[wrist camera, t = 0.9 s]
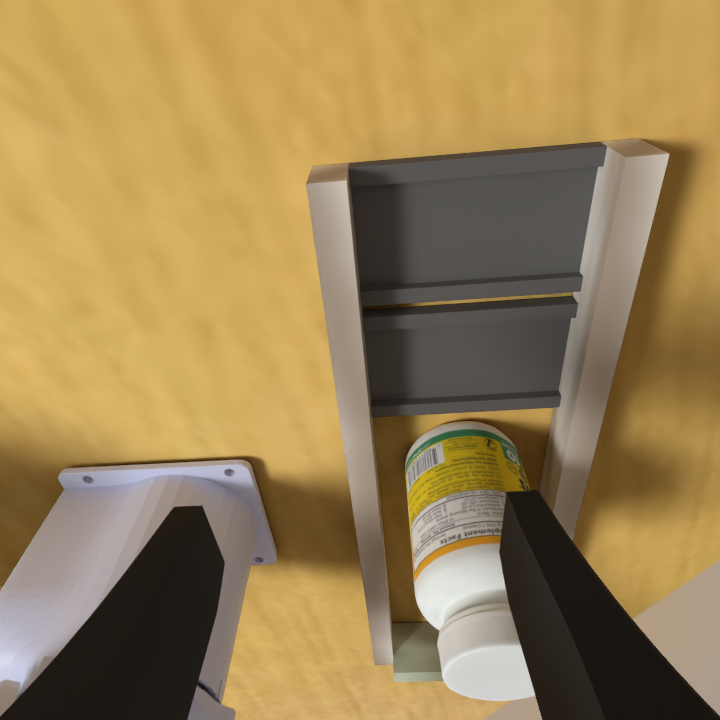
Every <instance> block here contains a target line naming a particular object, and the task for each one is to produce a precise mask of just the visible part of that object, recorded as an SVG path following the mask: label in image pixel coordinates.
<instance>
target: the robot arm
mask: <svg viewBox="0 0 720 720" xmlns="http://www.w3.org/2000/svg"><path fill="white" fill-rule="evenodd" d="M229 469H232V470H229ZM58 479H59V482H60V483H61V485H62V486H63V488H64V490H63V492H62V493H61V495H60V496H59V498H58V500H57V501H56V503H55V504H54V506H53V508H52V509H51V511H50V512H49V514H48V516H47V517H46V519H45V520H44V522H43V523H42V525H41V527H40V528H39V530H38V531H37V533H36V535H35V536H34V538H33V539H32V541H31V543H30V544H29V546H28V547H27V549H26V551H25V552H24V554H23V555H22V557H21V558H20V560H19V562H18V563H17V565H16V566H15V568H14V570H13V571H12V573H11V574H10V576H9V578H8V579H7V581H6V582H5V584H4V586H3V587H2V589H1V590H0V720H234V719H235V714H236V711H235V710H234V709H232V708H229V707H226V706H224V705H222V700H223V695H224V691H225V686H226V681H227V676H228V672H229V667H230V662H231V657H232V653H233V648H234V643H235V638H236V633H237V629H238V624H239V619H240V614H241V610H242V605H243V600H244V595H245V591H246V586H247V581H248V576H249V572H250V567H251V565H264V564H273V563H275V562H276V561H277V550H276V547H275V543H274V540H273V537H272V533H271V530H270V526H269V523H268V520H267V516H266V513H265V510H264V506H263V503H262V499H261V496H260V493H259V489H258V486H257V482H256V479H255V476H254V472H253V469H252V466H251V464H250V463H249V462H247V461H245V460H220V461H200V462H180V463H161V464H141V465H121V466H101V467H81V468H66V469H63V470H62V471H61V473H60V474H59V476H58ZM499 554H500V560H501V565H502V571H503V576H504V582H505V587H506V592H507V598H508V603H509V606H510V610H511V613H512V617H513V620H514V624H515V627H516V631H517V634H518V638H519V641H520V645H521V648H522V651H523V655H524V658H525V662H526V665H527V669H528V672H529V675H530V679H531V682H532V686H533V689H534V692H535V696H536V699H537V702H538V706H539V710H540V713H541V716H542V720H720V716H719V715H718V714H717V713H716V712H715V711H714V710H713V709H712V708H711V707H710V706H709V705H708V704H707V703H706V702H705V701H704V700H703V699H702V697H701V696H700V695H699V694H698V693H697V692H696V691H695V690H694V689H693V688H692V687H691V686H690V685H689V684H688V682H687V681H686V680H685V679H684V678H683V677H682V676H681V675H680V674H679V673H678V672H677V671H676V669H675V668H674V667H673V666H672V665H671V664H670V663H669V662H668V661H667V659H666V658H665V657H664V656H663V655H662V654H661V653H660V652H659V650H658V649H657V648H656V647H655V646H654V645H653V643H652V642H651V641H650V640H649V639H648V638H647V636H646V635H645V634H644V633H643V632H642V630H641V629H640V628H639V627H638V626H637V625H636V623H635V622H634V621H633V620H632V619H631V617H630V616H629V615H628V614H627V612H626V611H625V610H624V609H623V607H622V606H621V605H620V604H619V603H618V601H617V600H616V599H615V598H614V596H613V595H612V594H611V592H610V591H609V590H608V588H607V587H606V586H605V585H604V583H603V582H602V581H601V579H600V578H599V577H598V575H597V574H596V573H595V572H594V570H593V569H592V568H591V566H590V565H589V564H588V562H587V561H586V559H585V558H584V557H583V555H582V554H581V553H580V551H579V550H578V548H577V547H576V546H575V544H574V543H573V541H572V540H571V538H570V537H569V536H568V534H567V533H566V531H565V530H564V528H563V527H562V525H561V524H560V522H559V521H558V519H557V518H556V516H555V515H554V513H553V512H552V510H551V509H550V507H549V506H548V504H547V502H546V501H545V499H544V498H543V496H542V494H541V493H539V492H538V491H537V490H532V491H510V492H506V499H505V507H504V516H503V524H502V532H501V541H500V549H499Z"/></svg>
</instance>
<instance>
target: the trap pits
mask: <svg viewBox="0 0 720 720" xmlns="http://www.w3.org/2000/svg"><path fill="white" fill-rule="evenodd" d="M606 150H607V146H606V145H604V144H603V143H601V142H592V143H580V144H569V145H557V146H545V147H533V148H521V149H510V150H498V151H486V152H474V153H463V154H451V155H439V156H427V157H415V158H404V159H392V160H380V161H368V162H357V163H349V165H348V172H349V182H350V187H351V196H352V207H353V217H354V228H355V238H356V249H357V260H358V270H359V281H360V298H361V306H376V305H391V304H405V303H420V302H435V301H450V300H464V299H479V298H494V297H509V296H523V295H538V294H553V293H568V292H581V287H582V281H583V275H582V274H581V273H580V267H581V261H582V255H583V250H584V244H585V238H586V233H587V227H588V221H589V216H590V210H591V204H592V199H593V193H594V187H595V182H596V176H597V171H598V167H602V166H604V161H605V156H606ZM577 309H578V302H577V301H576V300H575V298H574V297H573V296H567V297H552V298H537V299H522V300H507V301H493V302H478V303H463V304H448V305H433V306H418V307H403V308H389V309H374V310H363V312H362V319H363V330H364V334H365V345H366V356H367V366H368V377H369V388H370V398H371V414H372V417H390V416H408V415H426V414H445V413H463V412H481V411H499V410H518V409H536V408H554V407H560V402H561V394H560V392H559V385H560V380H561V374H562V368H563V363H564V357H565V351H566V346H567V340H568V334H569V329H570V323H571V318H576V314H577Z"/></svg>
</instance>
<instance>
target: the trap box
mask: <svg viewBox="0 0 720 720" xmlns="http://www.w3.org/2000/svg"><path fill="white" fill-rule="evenodd" d="M601 143H603V144H604V145H606V146H607V150H606V156H605V161H604V166H602V167H598V171H597V176H596V182H595V187H594V193H593V199H592V204H591V210H590V216H589V221H588V227H587V233H586V238H585V244H584V250H583V255H582V261H581V267H580V273H581V274H582V275H583V281H582V287H581V292H574V294H573V297H574V298H575V300H576V301H577V302H578V309H577V314H576V318H571V323H570V329H569V334H568V340H567V346H566V351H565V357H564V363H563V368H562V374H561V380H560V385H559V392H560V394H561V402H560V407H554V408H553V414H552V420H551V426H550V431H549V437H548V443H547V449H546V454H545V460H544V466H543V472H542V477H541V483H540V489H539V493H541V494H542V496H543V498H544V499H545V501H546V502H547V504H548V506H549V507H550V509H551V510H552V512H553V513H554V515H555V516H556V518H557V519H558V521H559V522H560V524H561V525H562V527H563V528H564V530H565V531H566V533H567V534H568V536H569V537H570V538H571V540H572V541H573V537H574V533H575V529H576V525H577V521H578V517H579V513H580V509H581V505H582V501H583V497H584V493H585V489H586V485H587V481H588V477H589V473H590V469H591V465H592V461H593V457H594V453H595V449H596V445H597V441H598V437H599V433H600V429H601V425H602V421H603V417H604V413H605V409H606V405H607V401H608V397H609V393H610V389H611V385H612V382H613V378H614V374H615V370H616V366H617V362H618V358H619V354H620V350H621V346H622V342H623V338H624V334H625V330H626V326H627V322H628V318H629V314H630V310H631V306H632V302H633V298H634V294H635V290H636V286H637V282H638V278H639V274H640V270H641V266H642V262H643V258H644V254H645V250H646V246H647V242H648V238H649V234H650V230H651V226H652V222H653V218H654V214H655V210H656V206H657V202H658V198H659V194H660V190H661V186H662V182H663V178H664V175H665V171H666V167H667V163H668V159H669V155H670V154H669V153H667V152H665V151H663V150H661V149H659V148H657V147H655V146H653V145H651V144H649V143H647V142H645V141H643V140H641V139H628V140H616V141H604V142H601ZM348 165H349V163H345V164H333V165H321V166H312V169H311V172H310V174H309V177H308V180H307V183H306V186H307V193H308V200H309V207H310V214H311V221H312V228H313V235H314V242H315V249H316V256H317V263H318V270H319V277H320V284H321V291H322V298H323V305H324V312H325V319H326V326H327V333H328V340H329V347H330V354H331V361H332V368H333V375H334V382H335V389H336V396H337V403H338V410H339V417H340V424H341V431H342V438H343V445H344V452H345V459H346V466H347V473H348V480H349V487H350V494H351V501H352V508H353V515H354V522H355V529H356V536H357V543H358V550H359V557H360V564H361V571H362V578H363V585H364V592H365V599H366V606H367V613H368V620H369V627H370V634H371V641H372V648H373V655H374V662H375V665H393V668H394V681H395V682H418V681H444V680H443V677H442V671H441V663H440V656H439V650H438V646H437V641H438V637H439V630H438V629H436V628H435V627H434V626H432V625H431V624H430V623H429V622H414V623H392V620H391V609H390V599H389V588H388V577H387V567H386V556H385V545H384V534H383V524H382V513H381V502H380V492H379V481H378V470H377V460H376V449H375V438H374V428H373V417H372V414H371V398H370V388H369V377H368V366H367V356H366V345H365V334H364V330H363V319H362V312H363V310H362V306H361V298H360V281H359V270H358V260H357V249H356V238H355V228H354V217H353V207H352V196H351V187H350V182H349V172H348Z"/></svg>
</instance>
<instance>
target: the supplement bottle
mask: <svg viewBox="0 0 720 720" xmlns="http://www.w3.org/2000/svg"><path fill="white" fill-rule="evenodd" d="M405 478H406V487H407V500H408V513H409V524H410V536H411V547H412V561H413V575H414V588H415V597H416V601H417V604H418V607H419V609H420V611H421V613H422V614H423V616H424V617H425V618H426V620H427V621H428V622H429V623H430V624H431V625H432V626H434V627H435V628H436V629H438V630H439V637H438V641H437V646H438V650H439V656H440V663H441V671H442V677H443V680H444V682H445V684H446V685H447V686H448V687H449V688H450V689H451V690H453V691H454V692H456V693H459V694H461V695H463V696H466V697H469V698H475V699H480V700H490V701H508V700H516V699H523V698H528V697H532V696H535V692H534V689H533V686H532V682H531V679H530V675H529V672H528V669H527V665H526V662H525V658H524V655H523V651H522V648H521V645H520V641H519V638H518V634H517V631H516V627H515V624H514V620H513V617H512V613H511V610H510V606H509V603H508V598H507V592H506V587H505V582H504V576H503V571H502V565H501V560H500V554H499V549H500V541H501V532H502V524H503V516H504V507H505V499H506V492H510V491H531V490H530V487H529V484H528V481H527V478H526V475H525V472H524V469H523V466H522V462H521V459H520V456H519V454H518V451H517V449H516V447H515V445H514V444H513V443H512V441H511V440H510V439H509V438H508V437H507V436H506V435H504V434H503V433H502V432H501V431H499V430H498V429H496V428H495V427H492V426H490V425H487V424H484V423H480V422H475V421H459V422H451V423H447V424H443V425H440V426H437V427H435V428H433V429H431V430H429V431H428V432H426V433H425V434H423V435H422V436H421V437H420V438H418V439H417V440H416V441H415V443H414V444H413V445H412V447H411V448H410V450H409V452H408V454H407V457H406V462H405Z"/></svg>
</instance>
